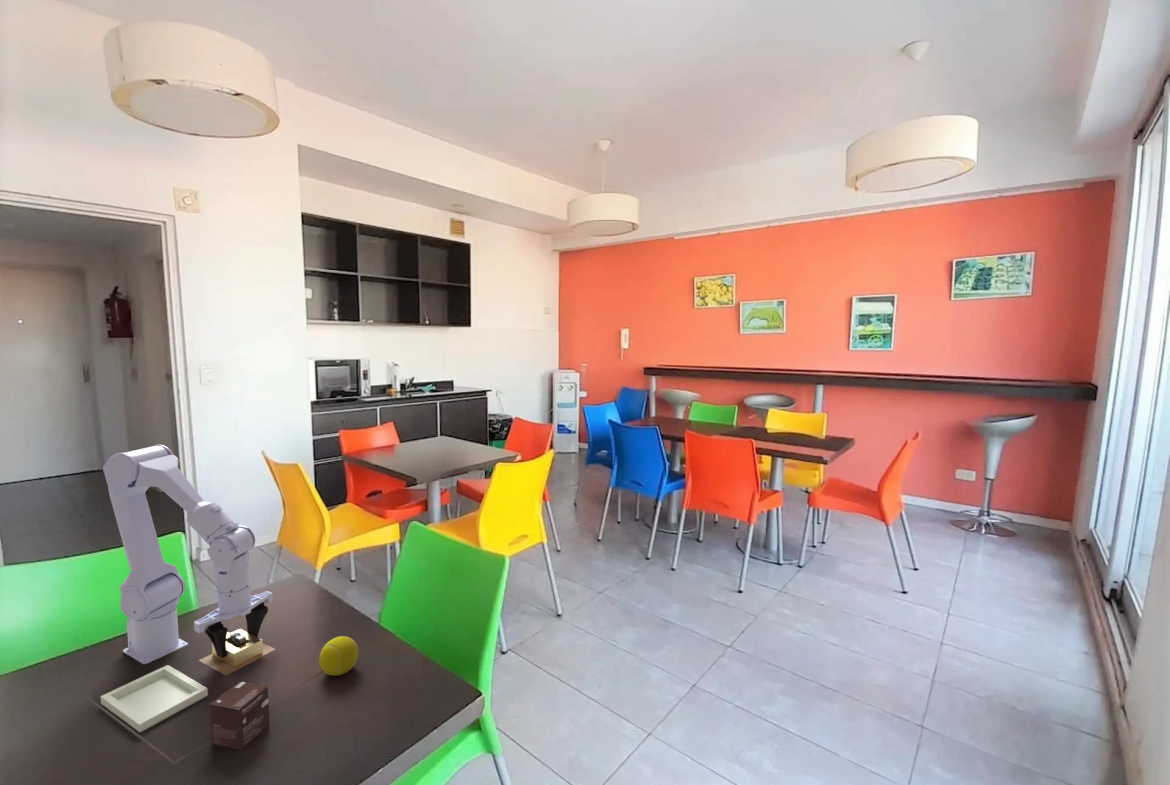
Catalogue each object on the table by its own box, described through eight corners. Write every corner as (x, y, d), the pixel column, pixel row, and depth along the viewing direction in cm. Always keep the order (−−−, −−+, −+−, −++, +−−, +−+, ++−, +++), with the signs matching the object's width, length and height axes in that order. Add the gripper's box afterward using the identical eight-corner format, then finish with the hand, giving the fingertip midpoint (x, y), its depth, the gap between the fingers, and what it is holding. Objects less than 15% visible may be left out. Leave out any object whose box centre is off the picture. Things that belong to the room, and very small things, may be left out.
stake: (230, 654, 108) (229, 634, 108) (237, 650, 110) (236, 631, 109) (240, 659, 107) (239, 639, 106) (247, 655, 108) (246, 636, 108)
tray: (101, 705, 93) (100, 696, 93) (168, 673, 103) (167, 664, 102) (140, 734, 87) (139, 724, 87) (207, 697, 96) (207, 688, 96)
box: (241, 751, 84) (239, 710, 83) (210, 745, 85) (208, 704, 84) (270, 724, 90) (269, 685, 89) (241, 719, 91) (239, 680, 90)
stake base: (198, 662, 106) (198, 660, 106) (248, 637, 115) (248, 636, 115) (225, 677, 102) (225, 675, 102) (275, 650, 111) (275, 649, 111)
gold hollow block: (234, 667, 104) (233, 653, 104) (209, 653, 109) (208, 639, 108) (262, 653, 109) (262, 639, 109) (237, 639, 113) (237, 627, 113)
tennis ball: (339, 658, 109) (338, 626, 108) (366, 665, 106) (365, 633, 106) (312, 678, 102) (310, 645, 101) (339, 686, 100) (338, 652, 99)
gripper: (206, 607, 99) (209, 673, 100) (280, 577, 112) (282, 635, 113) (186, 598, 102) (190, 662, 103) (260, 569, 115) (263, 627, 116)
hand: (237, 647), depth 108 cm, fingers closed on gold hollow block, 6 cm apart
